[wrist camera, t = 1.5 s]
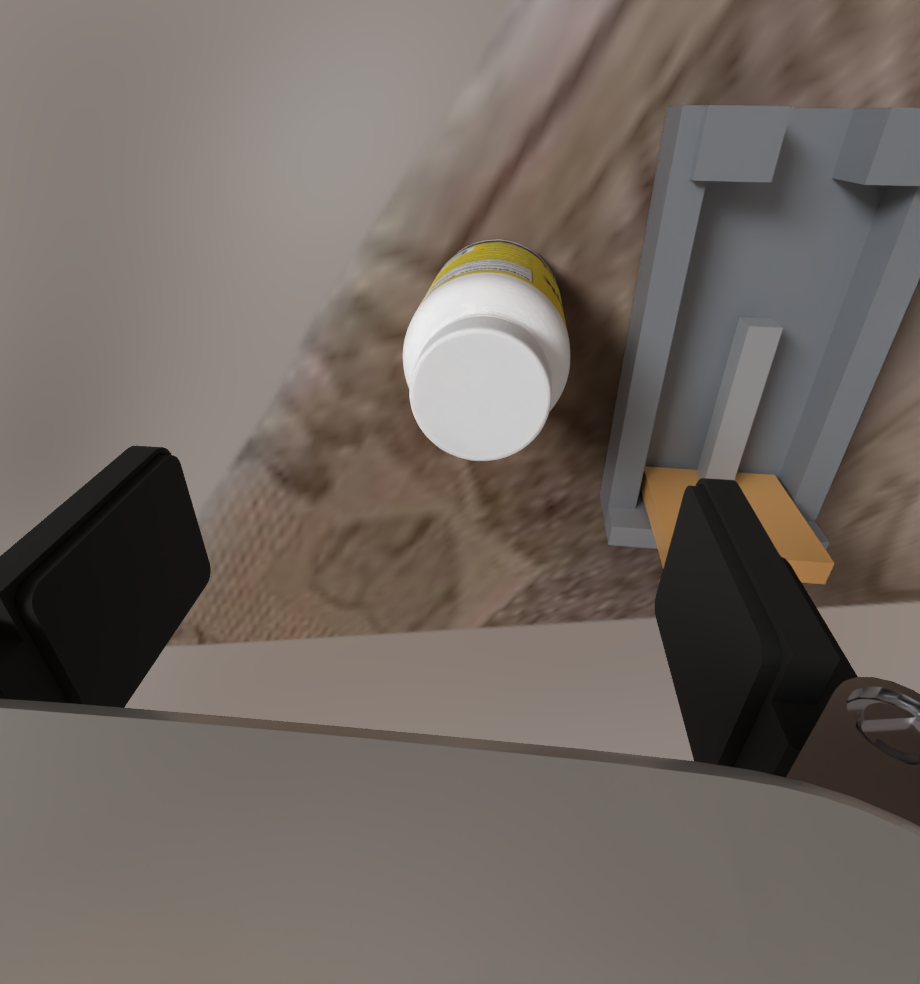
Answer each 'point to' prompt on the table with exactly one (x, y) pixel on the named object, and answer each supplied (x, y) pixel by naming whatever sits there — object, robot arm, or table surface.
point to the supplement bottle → (487, 351)
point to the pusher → (724, 456)
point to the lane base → (765, 291)
